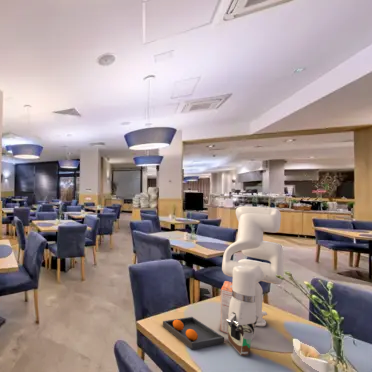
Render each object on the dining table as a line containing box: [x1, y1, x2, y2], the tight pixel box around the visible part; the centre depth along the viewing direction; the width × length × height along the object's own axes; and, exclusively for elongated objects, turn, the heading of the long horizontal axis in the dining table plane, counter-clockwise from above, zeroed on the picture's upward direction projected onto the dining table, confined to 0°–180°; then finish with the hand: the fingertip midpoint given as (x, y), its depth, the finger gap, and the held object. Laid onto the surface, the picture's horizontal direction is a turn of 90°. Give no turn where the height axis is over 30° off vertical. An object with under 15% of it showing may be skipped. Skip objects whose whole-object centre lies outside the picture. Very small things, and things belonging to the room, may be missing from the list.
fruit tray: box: [162, 316, 225, 350], centre depth 109 cm, size 18×17×3 cm
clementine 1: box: [173, 319, 184, 331], centre depth 112 cm, size 5×5×5 cm
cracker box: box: [220, 280, 232, 334], centre depth 115 cm, size 14×6×21 cm, turn 134°
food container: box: [227, 320, 255, 357], centre depth 100 cm, size 12×6×10 cm, turn 168°
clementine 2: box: [186, 329, 198, 341], centre depth 104 cm, size 5×5×5 cm
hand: (242, 336), depth 100 cm, fingers closed on food container, 7 cm apart
